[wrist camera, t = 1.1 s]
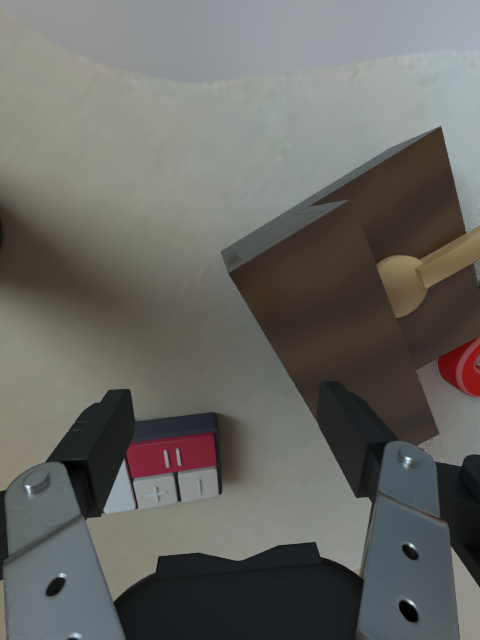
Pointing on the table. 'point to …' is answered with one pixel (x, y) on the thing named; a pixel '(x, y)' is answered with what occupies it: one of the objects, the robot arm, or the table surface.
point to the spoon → (425, 271)
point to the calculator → (168, 464)
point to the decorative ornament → (462, 367)
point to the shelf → (363, 283)
